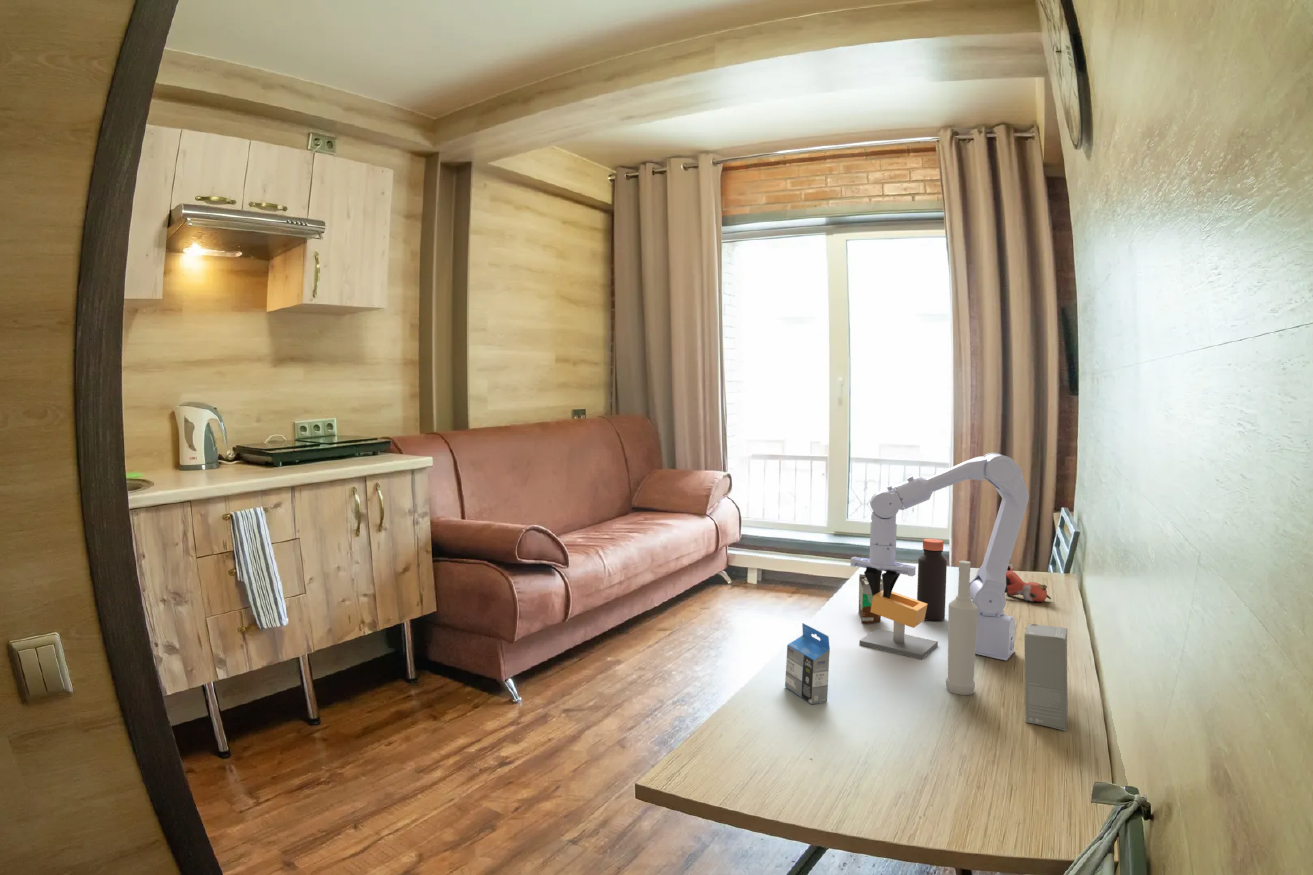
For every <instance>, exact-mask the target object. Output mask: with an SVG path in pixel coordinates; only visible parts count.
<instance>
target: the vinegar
mask: <svg viewBox="0 0 1313 875" xmlns="http://www.w3.org/2000/svg"><path fill="white" fill-rule="evenodd" d="M922 550H923V553H922V555H921V556H919V557H918V559H917V560H918V562H917V563H918V564H917V592H916V593H917V594H916V600H918V601H921V602H924V603H927V609H926V614H925V619H924V621H929V622H930V621H931V622H941V621H944V620H945V617H946V598H947V597H946V595H947V593H946V592H947V571H948V570H947V565H948V562H947V560H946V559H945V557H944V556H943V552H944V540H942V539H937V538H924V539H922Z"/></svg>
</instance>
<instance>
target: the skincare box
mask: <svg viewBox="0 0 1313 875" xmlns="http://www.w3.org/2000/svg"><path fill="white" fill-rule="evenodd" d="M1024 629H1025V632H1024V640H1023V641H1024V702H1025V703H1024V704H1025V705H1024V706H1025V709H1024V710H1025V713H1024V714H1025V722H1026V723H1030V724H1034V725H1040V726H1044V727H1048V728H1052V729H1056V730H1061V731H1064V732H1066V731H1067V729H1068V722H1069V709H1068V708H1069V707H1068V706H1069V704H1068V703H1069V702H1068V699H1069V697H1068V628H1067V627H1059V626H1052V625H1045V624H1035V623H1028V624H1027V627H1026V626H1025V628H1024Z"/></svg>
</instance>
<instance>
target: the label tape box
mask: <svg viewBox="0 0 1313 875" xmlns="http://www.w3.org/2000/svg"><path fill="white" fill-rule="evenodd" d="M813 635H814V636H815V635H816V637H818V638H819V639H817V638H816V637H813ZM830 649H831V648H830V638H829V635H827V634H826V633H823V632H822V631H820V630H817V629H816V628H814V627H812V626H810V625H807V624H805V623H802V635H801V636H798V637H797V638H796V639H795V640H793V641H791V642H789V643H788V644H787V646H786V661H785V662H786V663H785V664H786V665H785V678H784V680H785V681H784V682H785V683H784V687H785V688H786V689H788V690H790V691H791V692H793V693H794V694H796V695H798V696H799V697H800V698H802V699H804V700H805V701H807V702H808V703H810V704H811V705H816V704H821V703H820V702H823V703H826V702H828V691H829V671H830V670H829V668H830V667H829V666H830Z"/></svg>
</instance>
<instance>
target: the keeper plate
mask: <svg viewBox="0 0 1313 875" xmlns="http://www.w3.org/2000/svg"><path fill="white" fill-rule="evenodd" d="M905 628H906V625H904V624H901V623H899V622H896V621H893V631H891V630H887V629H881V628H876V629H875V630H873V631H872V632H870V633H868V634H867V635H865V636H864V637H863V638H860V639H859V645H860V646H862V647H863V646H864V647H867V648H872V649H876V650H880V651H885V652H889V653H892V654H898V655H901V656H906V657H911V658H914V659H919V660H923V659H924V658H925V657H927V656H929V654H930V653H931V652H932V651H933V650H935V649H936V648H937V647H938V646H939V644H938V643H939V641H938V640H933V639H927V638H924V637H919V636H914V635H910V634H905V630H906V629H905Z"/></svg>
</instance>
